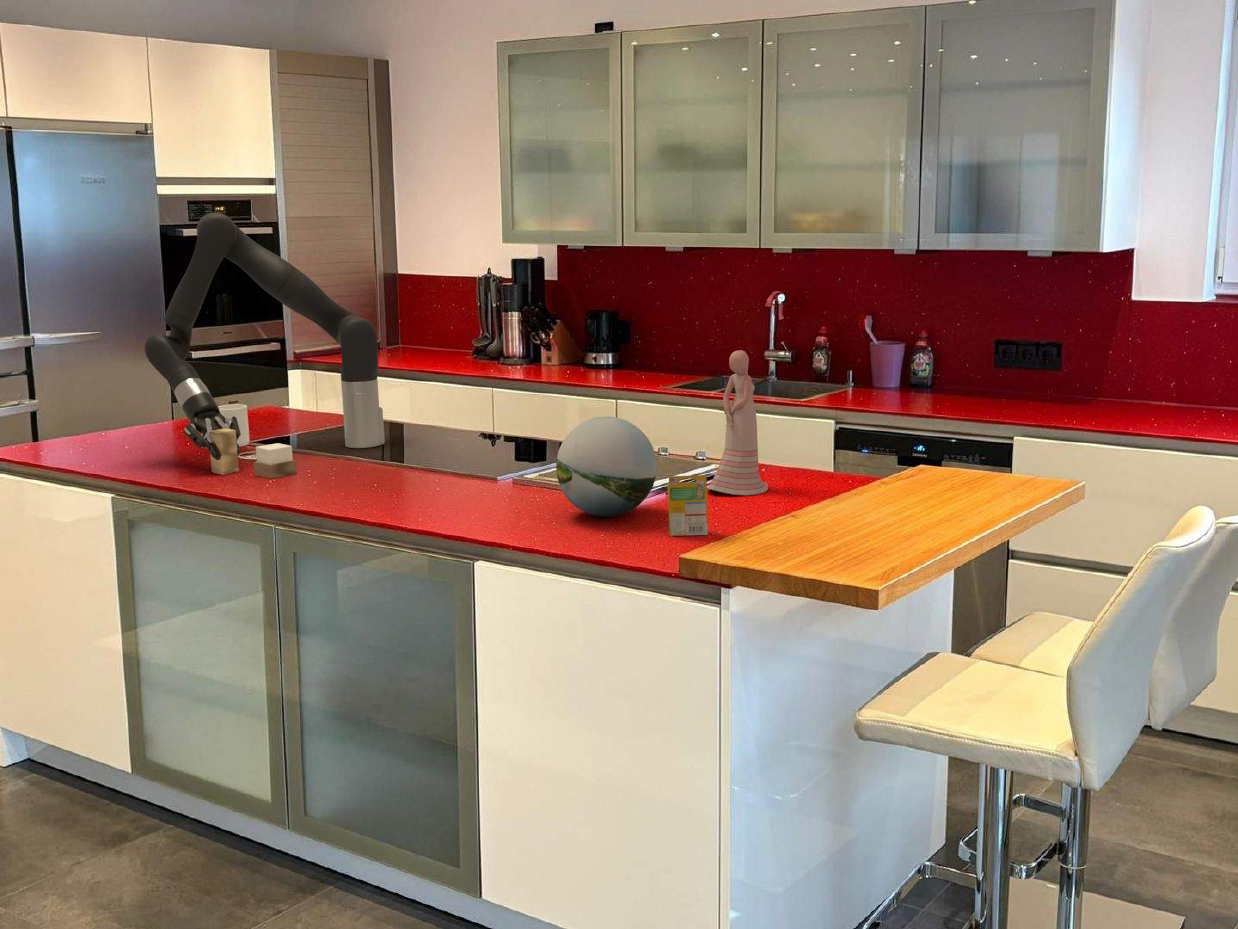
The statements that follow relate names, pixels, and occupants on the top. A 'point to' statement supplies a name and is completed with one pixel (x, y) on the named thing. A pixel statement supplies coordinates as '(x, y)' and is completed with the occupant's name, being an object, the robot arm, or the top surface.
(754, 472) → the figurine
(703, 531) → the crayon box
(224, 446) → the pillar
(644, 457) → the decorative sphere
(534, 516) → the top surface
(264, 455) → the slab top
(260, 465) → the slab base
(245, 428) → the cup
